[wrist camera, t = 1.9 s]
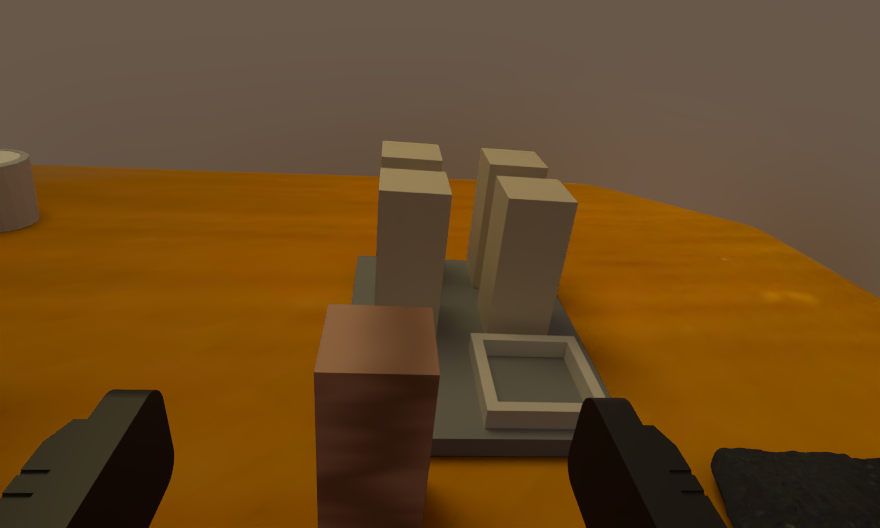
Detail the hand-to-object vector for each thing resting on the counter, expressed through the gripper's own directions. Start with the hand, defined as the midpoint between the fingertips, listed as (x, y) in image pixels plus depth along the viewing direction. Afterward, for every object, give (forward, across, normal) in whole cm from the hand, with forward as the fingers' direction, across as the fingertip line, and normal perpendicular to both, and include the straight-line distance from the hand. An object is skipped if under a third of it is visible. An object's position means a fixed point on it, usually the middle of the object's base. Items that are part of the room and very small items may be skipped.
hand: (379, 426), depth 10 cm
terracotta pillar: (+11, 0, +18) cm, 21 cm away
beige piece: (+46, +40, +18) cm, 64 cm away
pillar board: (+27, -7, +18) cm, 33 cm away
